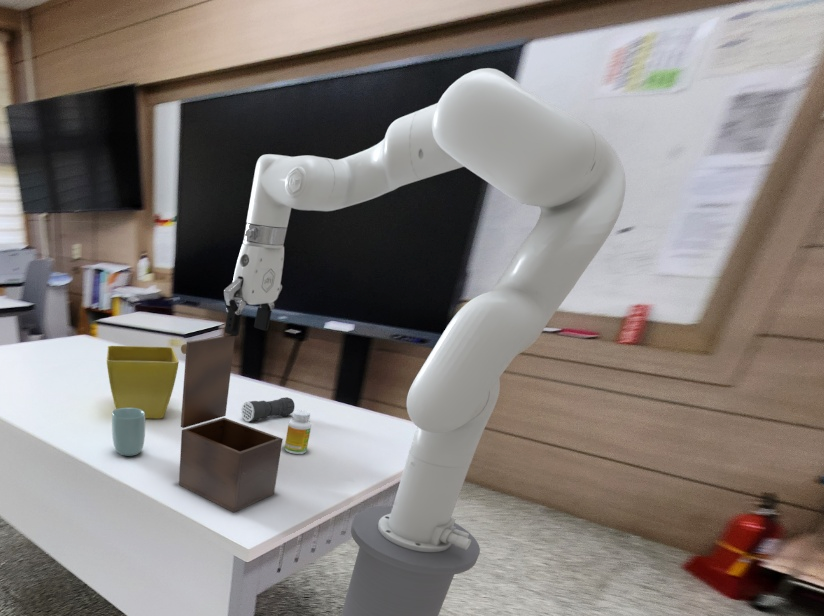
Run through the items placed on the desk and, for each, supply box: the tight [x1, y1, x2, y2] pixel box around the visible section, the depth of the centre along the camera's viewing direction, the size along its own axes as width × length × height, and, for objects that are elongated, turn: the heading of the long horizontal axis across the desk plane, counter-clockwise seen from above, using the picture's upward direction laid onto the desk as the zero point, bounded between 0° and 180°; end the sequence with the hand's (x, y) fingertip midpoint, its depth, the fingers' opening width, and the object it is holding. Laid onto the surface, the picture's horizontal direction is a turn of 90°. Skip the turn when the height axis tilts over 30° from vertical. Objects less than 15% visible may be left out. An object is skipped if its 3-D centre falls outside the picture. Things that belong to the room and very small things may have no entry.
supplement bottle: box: [284, 409, 312, 455], centre depth 126 cm, size 5×5×10 cm
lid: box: [180, 334, 236, 429], centre depth 104 cm, size 17×13×6 cm
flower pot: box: [106, 345, 180, 420], centre depth 147 cm, size 19×19×17 cm
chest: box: [178, 417, 284, 513], centre depth 106 cm, size 16×13×12 cm
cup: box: [111, 408, 146, 457], centre depth 122 cm, size 8×8×10 cm
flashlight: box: [241, 397, 296, 422], centre depth 148 cm, size 15×5×5 cm, turn 117°
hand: (246, 331), depth 105 cm, fingers open, 9 cm apart
